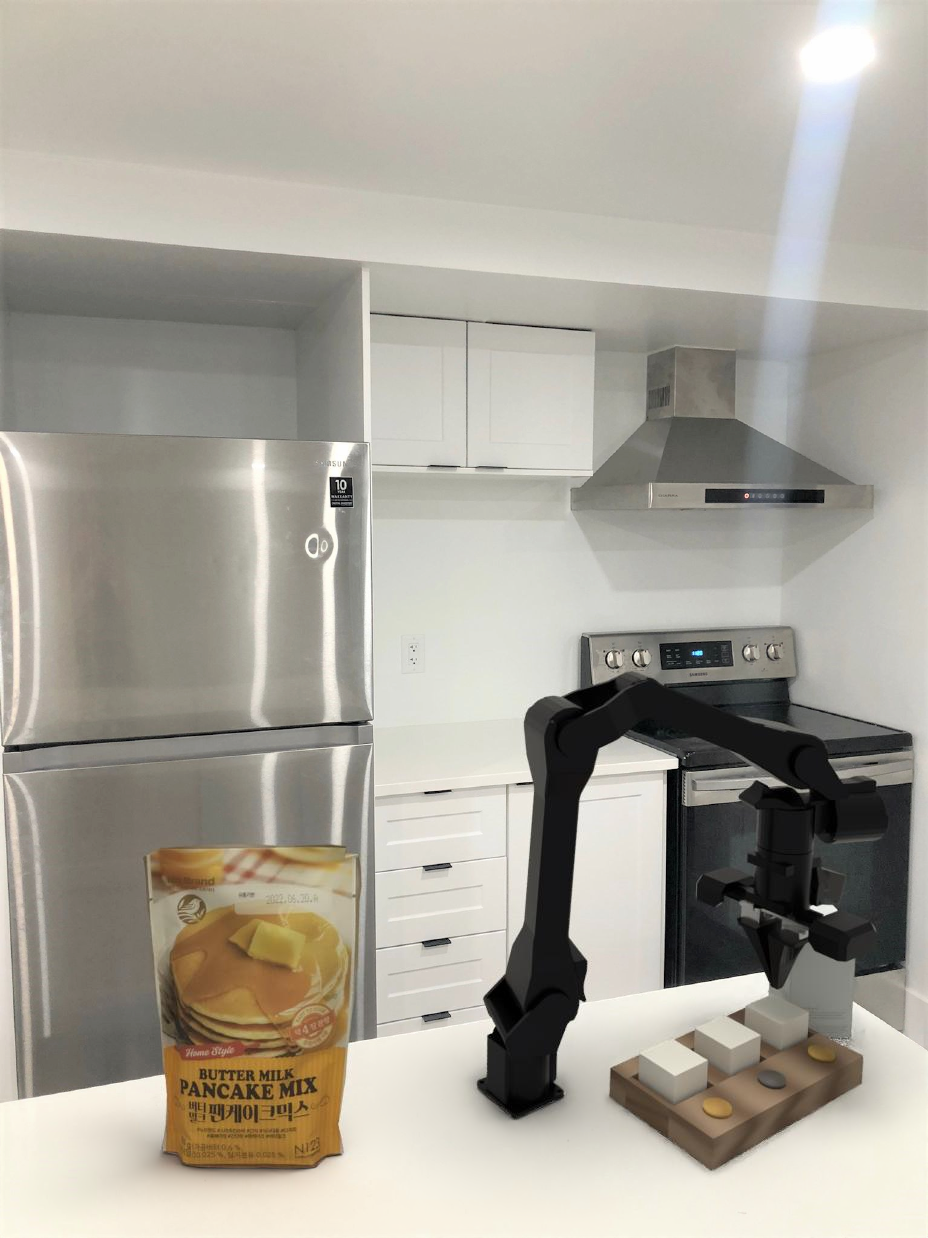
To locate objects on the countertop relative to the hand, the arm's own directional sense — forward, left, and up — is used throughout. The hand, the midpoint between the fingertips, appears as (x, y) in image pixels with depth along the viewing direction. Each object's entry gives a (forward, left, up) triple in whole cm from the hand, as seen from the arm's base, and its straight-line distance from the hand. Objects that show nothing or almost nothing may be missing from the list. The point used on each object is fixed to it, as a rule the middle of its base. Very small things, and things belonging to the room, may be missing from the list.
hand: (776, 987), depth 100 cm
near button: (-16, 0, -6) cm, 17 cm away
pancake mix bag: (-51, +18, -8) cm, 55 cm away
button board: (-8, -2, -8) cm, 11 cm away
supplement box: (+10, +2, -8) cm, 13 cm away
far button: (0, 0, -6) cm, 6 cm away
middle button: (-8, 0, -6) cm, 10 cm away
